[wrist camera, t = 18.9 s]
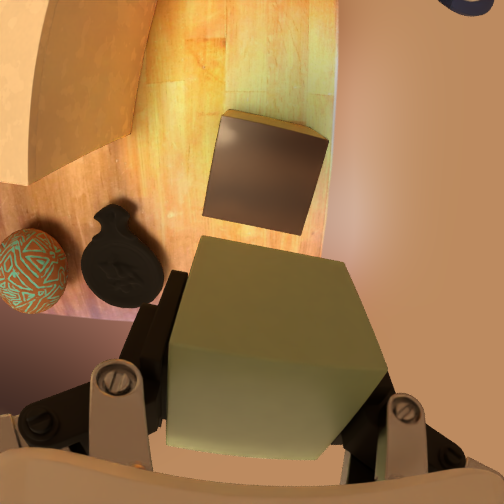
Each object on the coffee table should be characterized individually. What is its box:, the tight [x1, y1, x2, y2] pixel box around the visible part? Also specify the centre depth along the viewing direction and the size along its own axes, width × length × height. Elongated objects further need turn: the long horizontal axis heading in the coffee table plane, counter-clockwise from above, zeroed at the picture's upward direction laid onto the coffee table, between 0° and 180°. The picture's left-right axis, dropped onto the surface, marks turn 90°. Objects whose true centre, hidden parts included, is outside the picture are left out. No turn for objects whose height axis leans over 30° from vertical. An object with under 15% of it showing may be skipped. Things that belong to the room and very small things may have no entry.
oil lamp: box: [81, 204, 164, 308], centre depth 51 cm, size 15×20×5 cm
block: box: [166, 235, 388, 460], centre depth 10 cm, size 5×5×5 cm
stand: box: [202, 109, 329, 236], centre depth 41 cm, size 12×12×12 cm
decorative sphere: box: [0, 228, 68, 314], centre depth 47 cm, size 15×15×15 cm
